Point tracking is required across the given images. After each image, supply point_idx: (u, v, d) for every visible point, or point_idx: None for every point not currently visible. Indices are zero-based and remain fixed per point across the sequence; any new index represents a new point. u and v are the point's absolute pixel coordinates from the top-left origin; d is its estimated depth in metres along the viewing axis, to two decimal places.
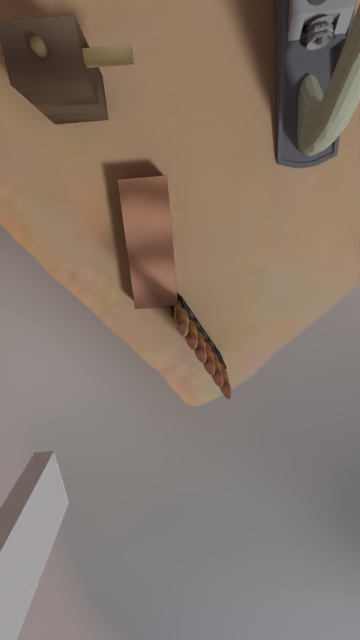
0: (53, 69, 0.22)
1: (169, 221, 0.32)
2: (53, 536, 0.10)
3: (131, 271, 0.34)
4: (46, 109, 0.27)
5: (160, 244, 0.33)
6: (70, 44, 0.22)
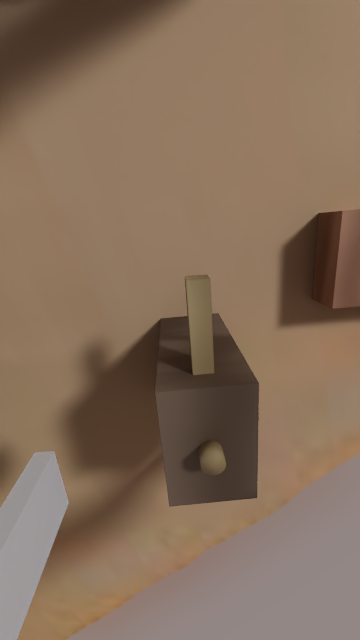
0: (240, 434, 0.11)
1: None
2: (53, 536, 0.10)
3: None
4: None
5: None
6: (201, 403, 0.11)
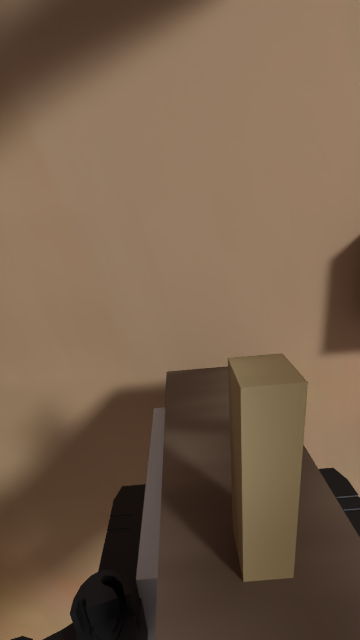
0: None
1: None
2: None
3: None
4: None
5: None
6: None
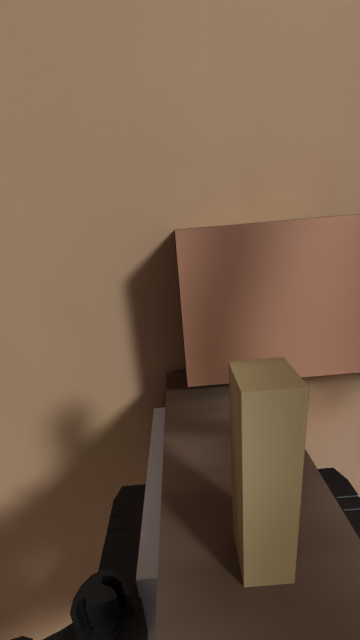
0: None
1: (332, 221, 0.08)
2: None
3: None
4: None
5: None
6: None
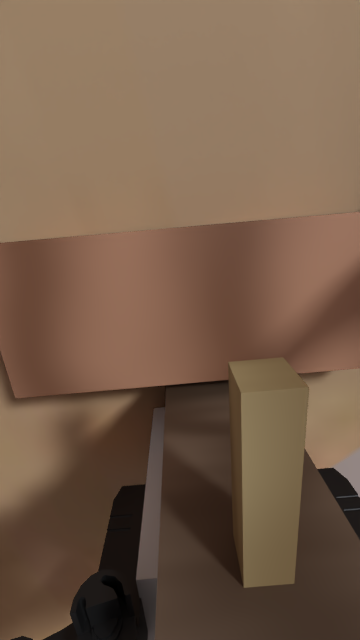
0: None
1: (123, 237, 0.09)
2: None
3: None
4: None
5: (204, 271, 0.09)
6: None
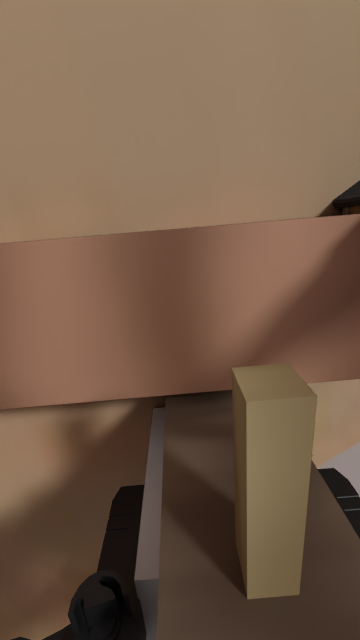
0: None
1: (51, 244, 0.08)
2: None
3: None
4: None
5: (140, 281, 0.08)
6: None
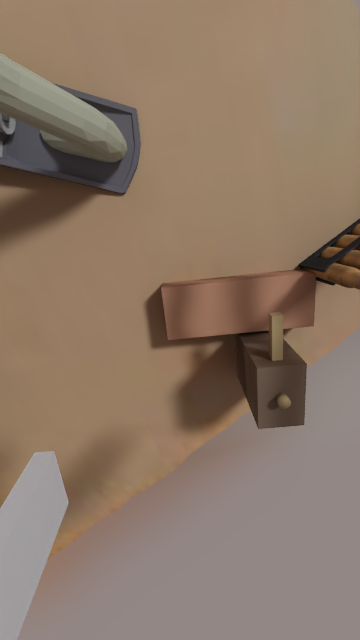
0: (296, 389, 0.23)
1: (210, 284, 0.27)
2: (53, 536, 0.10)
3: (266, 328, 0.28)
4: None
5: (236, 294, 0.27)
6: (278, 373, 0.23)
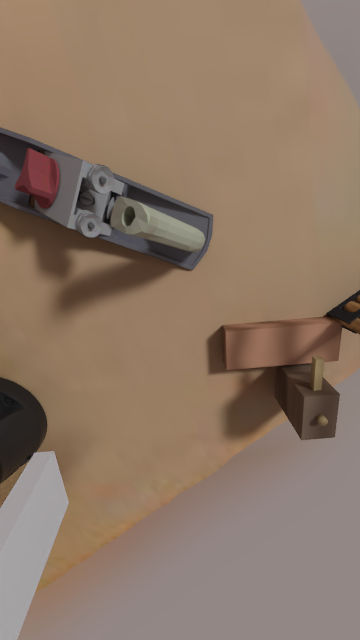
0: (331, 411, 0.32)
1: (263, 329, 0.35)
2: (53, 536, 0.10)
3: (302, 362, 0.37)
4: None
5: (281, 337, 0.36)
6: (319, 400, 0.31)
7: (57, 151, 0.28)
